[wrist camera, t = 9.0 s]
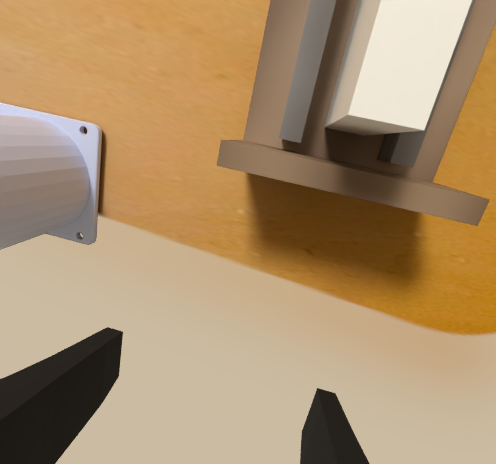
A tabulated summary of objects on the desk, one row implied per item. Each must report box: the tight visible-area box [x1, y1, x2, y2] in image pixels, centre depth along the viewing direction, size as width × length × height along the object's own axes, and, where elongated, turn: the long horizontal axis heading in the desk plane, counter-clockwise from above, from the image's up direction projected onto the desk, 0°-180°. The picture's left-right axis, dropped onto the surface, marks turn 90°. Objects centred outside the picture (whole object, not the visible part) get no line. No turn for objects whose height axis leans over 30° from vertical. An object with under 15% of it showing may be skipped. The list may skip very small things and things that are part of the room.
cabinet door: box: [324, 0, 472, 136], centre depth 11 cm, size 3×7×8 cm, turn 169°
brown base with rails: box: [217, 0, 496, 226], centre depth 13 cm, size 10×12×6 cm
